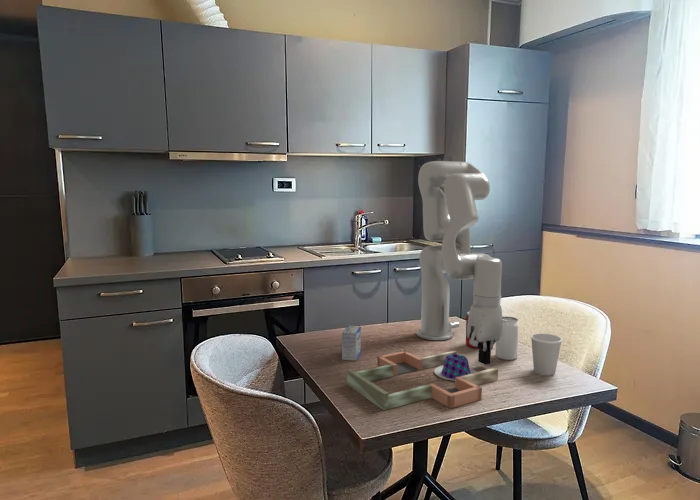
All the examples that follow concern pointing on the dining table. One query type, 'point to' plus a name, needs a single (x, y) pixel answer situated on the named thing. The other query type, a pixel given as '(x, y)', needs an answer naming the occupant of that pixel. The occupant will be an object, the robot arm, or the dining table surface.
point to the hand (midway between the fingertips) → (484, 362)
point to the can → (508, 339)
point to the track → (387, 401)
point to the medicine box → (351, 343)
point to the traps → (449, 398)
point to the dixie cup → (545, 352)
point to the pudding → (454, 367)
